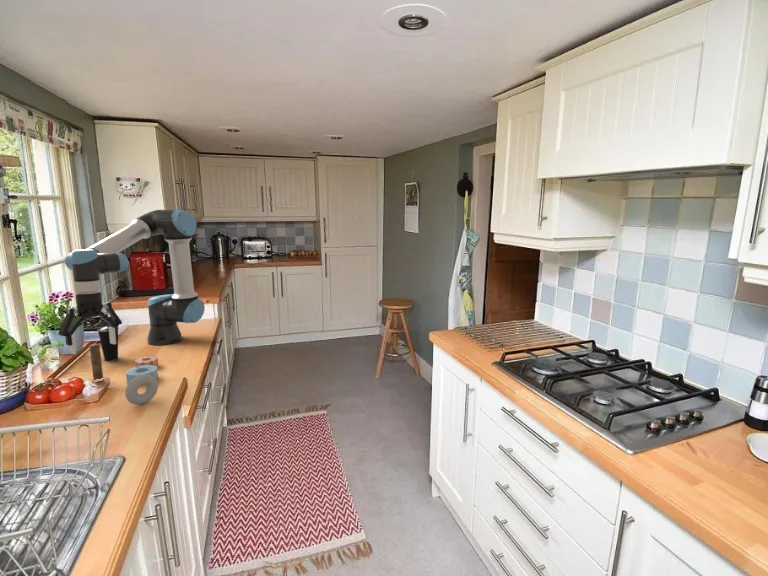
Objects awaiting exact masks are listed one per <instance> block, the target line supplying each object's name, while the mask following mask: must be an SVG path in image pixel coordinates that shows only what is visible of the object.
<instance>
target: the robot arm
mask: <svg viewBox="0 0 768 576" xmlns="http://www.w3.org/2000/svg"><path fill="white" fill-rule="evenodd" d="M197 226H198V225H197V221H196V219H195V217H194V215H193V214H191V212H189V211H187V210H184V209H183V210H182V209H155V210H151V211H149V212H147V213H144V214H143V215H140V216H138V217H137V218H135V219H133V220H132V221H131V223H130V224H129V225H127V226H125V227H123V228H122V229H120V230H118V231H116V232H115V233H112V234H110V235H109V236H107V237H105V238H104V239H101V240H100V241H98V242H96V243H94V244H92V245H91V246H88V247H87V248H85V249H73V251H72V252H69V253H68V254H67V255H65V258H64V264H65V266H66V268H67V269H68V270H70V271H72V276H73V284H74V292H75V303H76V307H67V308H66V312H65V313H66V315H65V316H64V319H63V321H62V323H61V324H62V325H61V326H60V329H59V331H58V334H57V335H58V336H61V337H64V338H65V345H66V346H68V348H69V353H70V354H72V355H76V354H77V346H76V335H74V333H75V332H76V331H77V330H78V328H79V326H80V325H81V323H83V321H85V319H91V318H97V317H99V318H101V319H102V320H103V321H104V322H105V323H106V322H107V323H108V324H109V326H111V327H109V338H110V343H111V344H116V336H115V335H117V327H119V325H122V323H123V322H122V320H121V318H120V317H119V316H118V315H117V313H116V311H115V309H114V308H113V306H112V305H113V304H112V303H111V302H109V301H105V302H104V303H102V292H101V290H102V289H101V288H102V287H101V278H100V275H105V274H113V273H118V274H119V273H120V272H125V271H126V270H127V269H128V267H129V259H128V257H127V255H125V254H124V253H122V251H124V250H126V249H128V248H129V247H131V246H132V245H135V244H136V243H138V242H139V241H141V240H142V239H145V240H147V239H149V238H150V237H153V236H158V235H159V236H161V235H162V236H163V239H164V241H165V242H166V243H168V249H169V257H170V268H171V274H172V283H173V284H172V285H173V293H170V294H162V295H156V296H151V297H150V298H148V300H147V304H148V305H147V307H148V317H149V325H150V326H149V327H150V328H149V331H148V335H147V344H149V345H153V346H162V345H163V346H165V345H171V344H175V343H178V342H180V341H182V339H183V336H182V333H181V330H180V329H179V326H178V323H185V324H190V323H191V324H194V323H197V322H199V321H200V320H201V319H202V318H203V315H204V314H205V303H204V301H203V300H202V299H199V295H198V293H197V292H196V291H195V289H194V288H195V287H194V276H193V268H192V258H191V249H190V248H191V247H190V241H191V240H192V239H193V235H195V233H196V231H197ZM103 308H104V310H106V312H107V314H108V317H107V316H106V314H105V313H104V312H103V311H102V310H103ZM76 312H77V314H76ZM75 314H76V316H75ZM109 316H110V317H111V318H110V317H109ZM74 317H75V319H73V318H74ZM72 321H73V322H72ZM107 323H106V324H107Z"/></svg>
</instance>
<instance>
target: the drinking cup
mask: <svg viewBox="0 0 768 576" xmlns="http://www.w3.org/2000/svg"><path fill="white" fill-rule="evenodd" d="M105 315H106V316H107V317H109V313H106V314H105ZM105 323H106V325H105V326H102V327H100V328H97V330H96V331H97V333H98V338H99V341H100V345H101V350H102V351H101V352H102V354H103V359H104V361H106V362H110V361H115V360H118V359H119V330H120V329H119V328H120V327H119V326H118V327H117V335H115V336H116V344H111V343H110V338H109V327H111V326H110V325H109V324H108V323H107V322H105Z"/></svg>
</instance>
